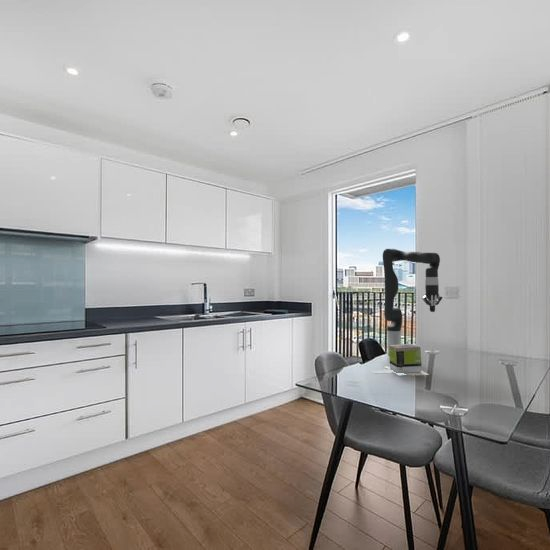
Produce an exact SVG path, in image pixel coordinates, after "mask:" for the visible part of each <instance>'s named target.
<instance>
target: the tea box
mask: <svg viewBox="0 0 550 550" xmlns="http://www.w3.org/2000/svg"><path fill="white" fill-rule="evenodd" d="M421 350H422V349H421V346H419V345H416V344H413V343H406V344H402V343H401V345H389V355H388V357H389V358H388V359H389V366H390V369H391V370H393V371H394V372H396V373H408V372H422V371H423V369H422V353H421Z"/></svg>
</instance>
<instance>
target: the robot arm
mask: <svg viewBox="0 0 550 550" xmlns="http://www.w3.org/2000/svg"><path fill="white" fill-rule="evenodd" d="M399 261H401V262H402V261H404V262H405V261H407V262H409V263H416V264H417V263H419V264H420V263H421V264H425V265H426V264H427V265H429V266H428V267H427V268H425V279H424V280H425V281H424V283H425V284H424V285H425V287H424V288H425V294H424V296H422V298H421V299H422V300H423V302H424V303H425V304H426V305H427V306H429V311H430V312H431V313H434V312H435V311H436V306H438V305H439V304H440V302H441V301H442V300H443V296H441V295H440V293H439V285H440V284H439V274H438V272H439V271H438V270H439V267H440V262H441V257H440V255H439V253H437V252H422V251H405V250H404V251H403V250H400V249H396V248H385V249H384V250H383V252H382V265H383V271H384V272H383V275H384V276H383V277H384V309H383V310H384V311H383V312H384V313H383V315H384V319H385V320H386V321H387V322H391V323H390V324H389V325H387V327H386V333H387V334H386V339H387V341H386V342H387V343H386V344H387V346H386V347H387V349H386V350H387V355H388V356H389V345H401V344H402V327H403V312H402V309H400V308H399V307H393V306H394V305H393V304H394V300H395V297H396V295H397V294H398V292H399V278H398V276H397V274H396V272H395V270H394V267H393V265H394V264H393V262H399Z"/></svg>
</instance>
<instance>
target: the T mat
mask: <svg viewBox="0 0 550 550" xmlns="http://www.w3.org/2000/svg"><path fill="white" fill-rule="evenodd" d="M384 369H385V370H388V369H390V365H389V366H386V365H385V366H384ZM390 370H391V369H390ZM404 374H406V375H412V376H415V375H416V376H429V375H430V373H427V372H425V371H423V370H422V372H408V373H404ZM416 376H415V377H416Z"/></svg>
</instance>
